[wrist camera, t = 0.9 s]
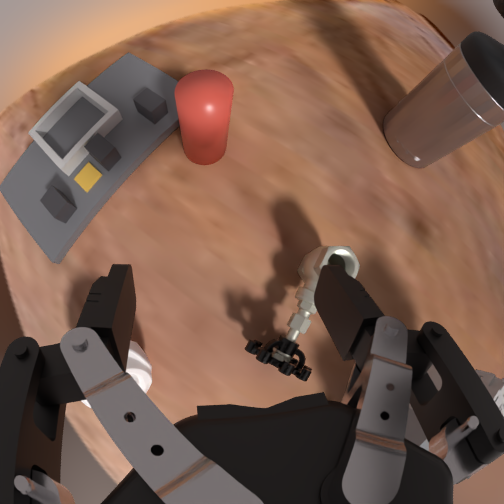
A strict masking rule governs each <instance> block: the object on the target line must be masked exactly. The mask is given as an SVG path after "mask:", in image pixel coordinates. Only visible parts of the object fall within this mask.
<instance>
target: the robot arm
mask: <svg viewBox="0 0 504 504" xmlns="http://www.w3.org/2000/svg"><path fill="white" fill-rule="evenodd" d="M493 2H494V5H495V7H496V9H497V10H498V11H499V13H500V14H501V16H502V17H503V18H504V0H493ZM502 122H504V45H503V44H501V43H499V42H498V41H496V40H495V39H493V38H491V37H490V36H488V35H486V34H484V33H481V32H473V33H471V34H470V35H468V36H467V37H466V38H465V39H464V40H463V41H462V42H461V43H460V44H459V45H458V46H457V47H456V48H455V49H454V50H453V51H452V52H451V53H450V54H449V55H448V56H447V57H446V58H445V59H444V60H443V61H442V62H441V63H440V64H439V65H438V66H437V67H435V68H434V69H433V70H432V71H431V72H430V73H429V74H428V75H427V76H426V77H425V78H424V79H423V80H422V81H421V82H420V83H419V84H418V85H417V86H416V87H415V88H414V89H413V90H412V91H410V92H409V93H408V94H407V95H406V96H405V97H404V98H403V99H402V100H401V101H400V102H399V103H398V104H397V105H396V106H395V107H394V108H393V109H392V110H391V111H390V112H389V113H388V114H387V115H386V116H385V118H384V122H383V128H384V133H385V136H386V139H387V141H388V143H389V145H390V147H391V148H392V150H393V151H394V152H395V153H396V155H397V156H398V157H399V158H400V159H402V160H403V161H404V162H405V163H407V164H408V165H410V166H413V167H416V168H424V167H426V166H428V165H430V164H432V163H434V162H435V161H437V160H439V159H441V158H442V157H444V156H446V155H448V154H450V153H451V152H453V151H455V150H456V149H458V148H460V147H462V146H463V145H465V144H467V143H469V142H470V141H472V140H474V139H475V138H477V137H479V136H481V135H482V134H484V133H486V132H487V131H489V130H491V129H493V128H494V127H496V126H497V125H499V124H501V123H502ZM369 296H370V295H369V294H368V293H367V291H365V289H364V287H363V286H362V285H361V284H360V282H359V281H357V280H356V279H354V278H353V277H352V276H349V275H348V274H347V272H346V271H345V270H344V268H343V267H342V266H341V265H324V266H323V267H322V269H321V272H320V275H319V279H318V282H317V286H316V289H315V293H314V304H315V307H316V309H317V311H318V313H319V315H320V317H321V319H322V321H323V322H324V324H325V326H326V328H327V330H328V332H329V334H330V336H331V338H332V340H333V342H334V344H335V346H336V348H337V349H338V351H339V353H340V355H341V357H342V359H343V361H346V360H351V359H354V360H355V364H354V365H353V368H352V371H351V375H350V378H349V381H348V384H347V388H346V391H345V394H344V397H343V400H342V402H341V403H340V402H336V401H328V400H327V399H326V396H325V394H324V392H322V393H317V394H311V395H305V396H299V397H294V398H292V399H289V400H287V401H284V402H282V403H279V404H277V405H274V406H271V407H268V408H255V407H247V406H239V405H232V404H227V405H207V406H197V413H198V414H197V415H193V416H190V417H187V418H185V419H182V420H180V421H179V422H177V423H175V424H174V425H173V424H172V423H171V422H170V421H169V420H168V419H167V418H166V417H165V416H164V415H163V413H162V412H161V411H160V410H159V409H158V408H157V407H156V405H155V404H154V403H153V402H152V401H151V400H150V398H149V397H148V396H147V395H146V394H145V392H144V391H143V390H142V389H141V388H140V386H139V385H138V384H137V383H136V381H135V380H134V379H133V377H132V376H131V375H130V374H129V373H127V372H126V367H127V360H128V353H129V346H130V340H131V334H132V328H133V322H134V317H135V311H136V294H135V287H134V280H133V273H132V267H131V265H130V264H113V265H112V267H111V269H110V272H109V275H108V277H103V276H101V277H100V278H99V279H98V280H97V281H95V282H94V283H93V285H92V287H91V290H90V292H89V295H88V297H87V300H86V302H85V305H84V307H83V310H82V313H81V315H80V318H79V321H78V323H77V326H76V328H74V329H72V330H70V331H68V332H67V333H66V334H65V335H64V336H63V337H62V339H61V342H60V343H58V344H54V345H48V346H43V347H39V345H38V343H37V342H36V340H35V339H33V338H31V337H21V338H18V339H16V340H14V341H13V342H12V343H11V344H10V345H9V347H8V349H7V351H6V353H5V356H4V358H3V361H2V364H1V367H0V504H75V502H74V499H73V496H72V494H71V493H70V492H69V491H68V489H67V488H66V487H64V486H63V485H61V484H60V467H61V449H62V435H63V427H64V418H65V410H66V403H70V402H76V401H81V400H86V399H87V401H88V403H89V404H90V406H91V408H92V409H93V411H94V413H95V414H96V416H97V417H98V419H99V421H100V422H101V424H102V425H103V427H104V428H105V430H106V431H107V433H108V434H109V435H110V437H111V438H112V440H113V441H114V443H115V444H116V445H117V447H118V448H119V449H120V451H121V452H122V453H123V455H124V456H125V457H126V459H127V460H128V461H129V462H130V464H131V465H132V466H133V467H134V468H133V469H132V470H131V471H130V472H129V473H128V474H127V476H126V477H125V478H124V479H123V480H122V481H121V482H120V483H119V484H118V486H117V487H116V488H115V489H114V490H113V491H112V492H111V493H110V494H109V495H108V496H107V498H106V499H105V500H104V501H103V502H102V503H101V504H453V485H454V484H458V483H460V482H461V481H463V480H465V479H467V478H468V477H470V476H472V475H473V474H475V473H476V472H478V471H479V470H481V469H483V468H484V467H485V466H487V465H488V464H490V463H491V462H493V461H494V460H496V459H497V458H498V457H500V456H501V455H502V454H504V417H503V415H502V413H501V411H500V410H499V408H498V406H497V405H496V403H495V401H494V400H493V398H492V396H491V395H490V393H489V391H488V390H487V388H486V387H485V385H484V383H483V382H482V380H481V379H480V377H479V376H478V374H477V373H476V371H475V370H474V368H473V367H472V365H471V364H470V362H469V361H468V359H467V358H466V357H465V355H464V354H463V352H462V351H461V350H460V348H459V347H458V345H457V344H456V343H455V341H454V340H453V338H452V337H451V336H450V334H449V333H448V332H447V330H446V329H445V328H444V327H443V326H441V325H440V324H438V323H435V322H426V323H424V325H423V326H422V328H421V330H420V331H416V330H407V328H406V326H405V325H404V324H403V323H402V322H401V321H400V320H398V319H396V318H394V317H391V316H385V315H384V314H383V313H382V311H381V310H380V309H379V307H378V306H377V305H376V303H375V302H374V301H373V299H372V298H371V297H369ZM432 364H433V365H434V367H435V369H436V370H437V372H438V374H439V375H440V377H441V379H442V386H441V389H440V390H439V391H438V390H437V388H436V386H435V385H434V383H433V381H432V379H431V378H430V376H429V374H428V373H427V371H428V370H429V368H430V367H431V366H432ZM409 403H410V405H411V407H412V409H413V411H414V413H415V415H416V417H417V419H418V421H419V423H420V425H421V427H422V430H423V432H424V434H425V436H426V438H427V440H428V442H429V451H428V450H426V449H424V448H422V447H420V446H418V445H416V444H415V443H413V442H411V441H409V440H408V439H406V438H405V432H406V425H407V419H408V411H409Z"/></svg>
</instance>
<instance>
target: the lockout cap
mask: <svg viewBox="0 0 504 504" xmlns="http://www.w3.org/2000/svg"><path fill="white" fill-rule="evenodd" d="M233 92H234V88H233V84H232V82H231V80H230V79H229V78H228V77H227V76H226V75H224V74H222V73H220V72H218V71H214V70H198V71H194V72H191V73H189V74H187V75H185V76H184V77H183V78H181V79H180V80H179V82H178V83H177V85H176V87H175V100H176V106H177V112H178V118H179V124H180V130H181V136H182V141H183V147H184V152H185V154H186V156H187V158H188V159H189V160H190V161H192V162H194V163H196V164H199V165H209V164H213V163H215V162H217V161H218V160H220V159H221V158H222V157H223V155H224V153H225V151H226V146H227V137H228V129H229V122H230V114H231V106H232V99H233Z"/></svg>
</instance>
